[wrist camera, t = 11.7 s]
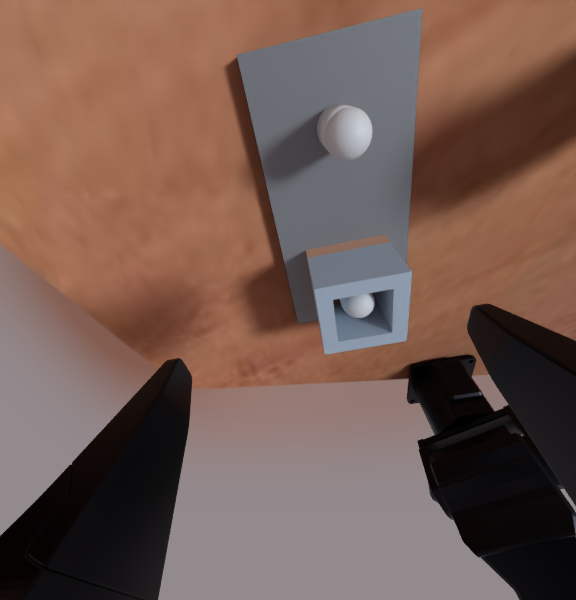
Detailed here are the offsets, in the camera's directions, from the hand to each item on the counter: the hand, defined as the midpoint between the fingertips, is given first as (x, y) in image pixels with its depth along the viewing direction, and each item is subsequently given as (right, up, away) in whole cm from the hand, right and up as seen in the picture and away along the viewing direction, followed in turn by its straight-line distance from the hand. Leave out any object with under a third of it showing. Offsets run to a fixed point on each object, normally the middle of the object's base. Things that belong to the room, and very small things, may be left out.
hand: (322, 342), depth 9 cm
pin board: (+3, +8, +11) cm, 13 cm away
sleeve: (+4, +3, +13) cm, 14 cm away
